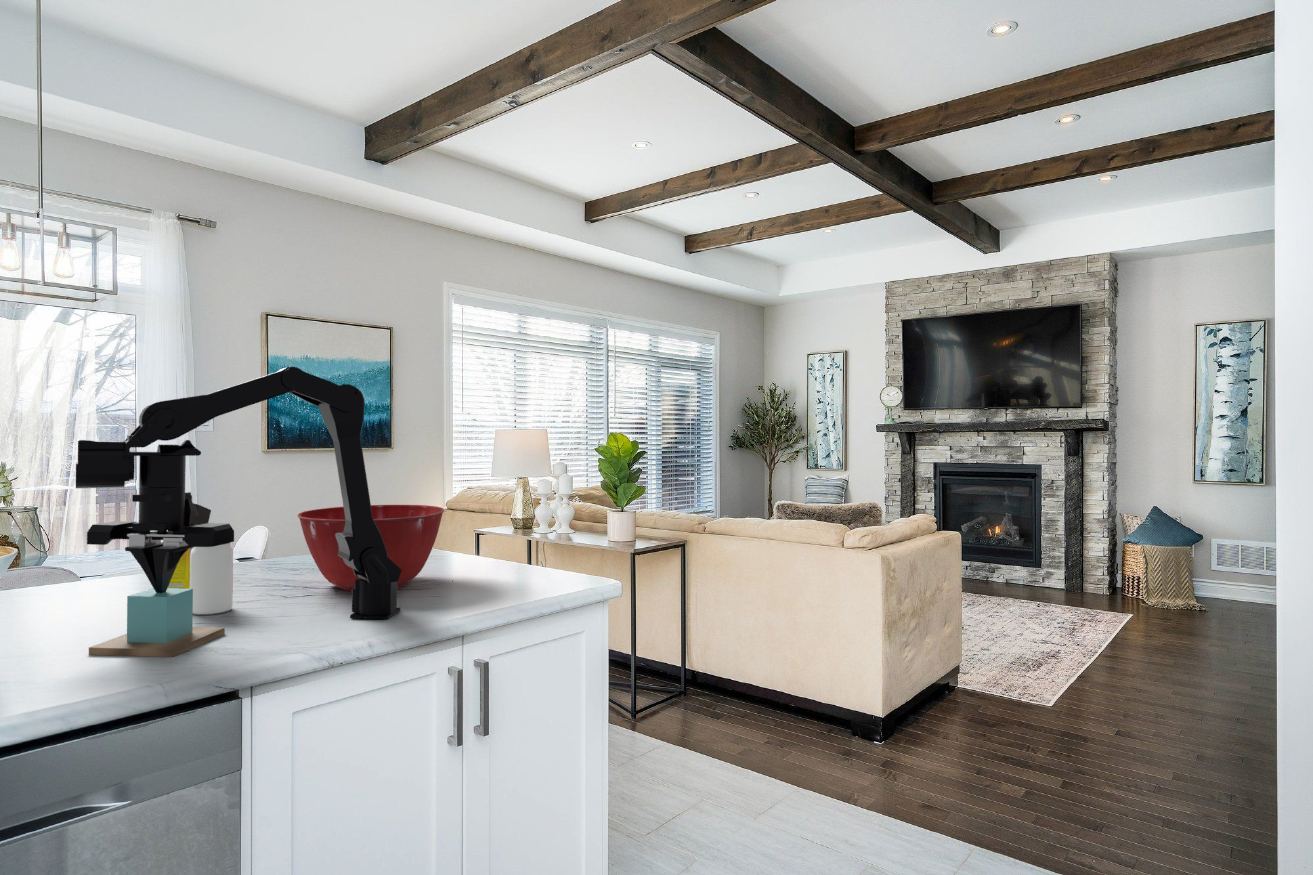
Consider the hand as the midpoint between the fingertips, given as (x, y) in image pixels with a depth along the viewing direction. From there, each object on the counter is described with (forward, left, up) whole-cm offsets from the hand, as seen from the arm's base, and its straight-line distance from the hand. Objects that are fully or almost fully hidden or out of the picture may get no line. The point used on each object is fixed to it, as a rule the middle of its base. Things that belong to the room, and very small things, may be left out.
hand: (161, 592), depth 111 cm
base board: (0, 0, -8) cm, 8 cm away
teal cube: (0, 0, -7) cm, 7 cm away
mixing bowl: (-13, -45, -8) cm, 47 cm away
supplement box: (+16, -28, -8) cm, 33 cm away
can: (+5, -20, -8) cm, 22 cm away
